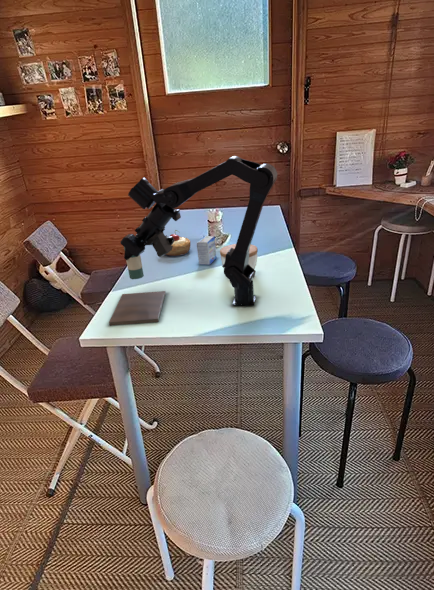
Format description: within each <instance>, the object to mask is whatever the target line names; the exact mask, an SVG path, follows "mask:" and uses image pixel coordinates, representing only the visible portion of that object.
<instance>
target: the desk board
mask: <svg viewBox="0 0 434 590" xmlns="http://www.w3.org/2000/svg"><path fill="white" fill-rule="evenodd" d="M166 294H167V292H166V290H158V291H145V292H133V293H122V294H121V296H120V298H119V300H118V302H117V305H116V307H115V309H114V311H113V313H112V315H111V317H110V318H109V321H108V324H109V326H119V325H134V324H135V325H136V324H148V323H159V321H160V317H161V313H162V309H163V306H164V302H165V298H166Z"/></svg>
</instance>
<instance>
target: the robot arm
mask: <svg viewBox="0 0 434 590" xmlns="http://www.w3.org/2000/svg"><path fill="white" fill-rule="evenodd" d="M230 176H235V177H236V178H238V179H240V180H241V181H243V182H245V183H248V184H249V196H248V197H249V199H248V203H247V207H246V210H245V213H244V216H243V220H242V223H241V226H240V231H239V233H238V237H237V241H236V243H235V244H236V246H235V249H233V248H231V249H230V250H229V251H228V252H227V254H226V257H225V263H224V265H223V266H221V267H222V268H223V267H224V268H223V275H224V276H225V278H226V279H228V281H229V282H230V285H231V287H232V288H233V293H234V296H233V297H234V298H233V301H232V304H231V305H232V306H233V307H234V306H236V307H237V306H238V307H243V306H246V307H249V306H251V307H253V306H255V304H256V299H257V295H256V294H254V293H255V291H254V280H253V279H254V278H255V275H256V270H255V269H253V268H252V267H251V266H250V265H249V264H248V262H249V248H250V245H251V244H252V242H253V238H254V234H255V232H256V229H257V226H258V223H259V219H260V216H261V214H262V210H263V207H264V204H265V202H266V200H267V198H268V196H269V194H270V192H271V190H272V189H273V187H274V186H275V183H276V181H277V179H278V171H277V169H276V167H275V166H274V165H272V164H271V163H263V164H261V163H258V162H256V161H253V160H252V161H251V160H249V159H244V158H242V157H240V156H238V155H233V156H231V157H229V158H228V159H226V160H225V161H224V162H222V163H220V164H218V165H216V166H214V167H212V168H210V169H208V170H206V171H205V172H203V173H201V174H198V175H197V176H195V177H193V178H189V179H185V180H180V181H178V182H174V183H173V184H171V185H169V186H167V187H166V188H161V189H159V190H157V188H155V187H154V185H153V184H151V183H150V181H149V180H148V179H147V178H146V177H142V178H140V180H139V181H137V183H136V184H135V185H134V186H133V187H131V189H130V190H129V191H128V194H127V196H128V197H129V198H131V200H132V201H134V202H135V203H136V204H137V205H138V206H139V207H140V208H141V209H142V210H146V209H147V210H150V209H151V208H152V209H151V210H150V211H149V212H148V214H147V216H145V217H143V219H142V220H141V221H142V222H140V223H141V224H140V225H139V226H138V227H136V228H135V229H134V232H135V233H136V234H133V233H128V234H126V235H125V236H124V237H123V238H122V239H121V240H120V245H121V246H123V248H124V247H125V250H124V254H123V255H124V256H123V258H124V260H125V261H126V260H128V259H129V258H130V257H132V256H133V255H134V256H135V257H138V256H139V255H140V256H141V255H142V254H143V253H144V252H145V250H146V246H152V248H153V249H154V251H155V253H156V255H157V256H158V257H159V258H161V257H163V256H165V255H166V254H167V253H169V252H170V251H171V250H172V247H173V246H171V245H172V244H173V242H174V241H175V240H174V238H173V236H170V235H167V234H165V232H164V231H165V230H166V225H167V224H168V223H169V222H170V220H171V219H172V220H173V221H174V222H178V220H180V219H181V217H182V215H181V210H180V208H179V207H180V206H181V205H183V204H185V203H186V202H187V201H188V200H189V199H191V198H192V197H193V196H194V195H196V194H197V193H199V192H201V191H203V190H205V189H207V188H208V187H210V186H212V185H215V184H216V183H218V182H220V181H222V180H224V179H226V178H228V177H230ZM177 208H178V209H177Z"/></svg>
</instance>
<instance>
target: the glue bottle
mask: <svg viewBox="0 0 434 590" xmlns="http://www.w3.org/2000/svg"><path fill="white" fill-rule="evenodd" d="M123 250H124V251H125V247H124V246H123ZM125 262H126V266H127V270H128V276H129V279H130V280H139V279H142V278H143V277H145V275H144V270H143V268H144V267H143V263H142V256H141V254H140V255H139V256H138V257H135V256H134V255H133V256H132V257H130V258H129V259H128V260H125Z"/></svg>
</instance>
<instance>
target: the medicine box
mask: <svg viewBox="0 0 434 590" xmlns="http://www.w3.org/2000/svg"><path fill="white" fill-rule="evenodd" d="M196 250H197V258H198V265H200V266H201V265H202V266H210V265H211V264H212V263H213V262H214V261H215V260H216V259H217V249H216V238H215V235H205V236H203V237H202V238H201V239H200V240H198V241H197V242H196Z"/></svg>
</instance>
